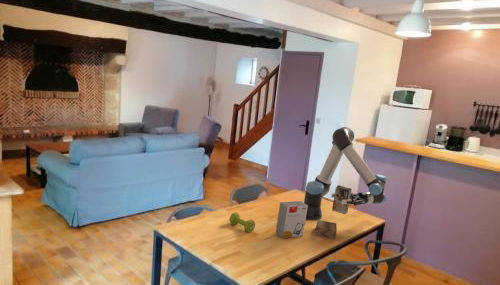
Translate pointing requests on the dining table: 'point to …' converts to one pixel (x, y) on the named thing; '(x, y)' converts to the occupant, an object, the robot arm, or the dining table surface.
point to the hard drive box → (291, 219)
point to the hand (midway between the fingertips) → (336, 198)
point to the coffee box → (340, 195)
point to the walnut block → (326, 229)
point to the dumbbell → (242, 222)
